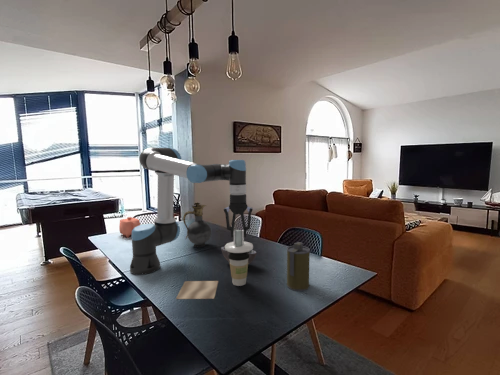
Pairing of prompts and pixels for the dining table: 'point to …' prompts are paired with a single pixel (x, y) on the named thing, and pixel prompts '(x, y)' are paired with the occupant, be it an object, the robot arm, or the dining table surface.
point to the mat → (198, 290)
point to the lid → (238, 244)
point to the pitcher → (198, 227)
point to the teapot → (128, 226)
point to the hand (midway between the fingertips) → (238, 244)
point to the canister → (298, 267)
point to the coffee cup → (238, 267)
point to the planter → (251, 253)
